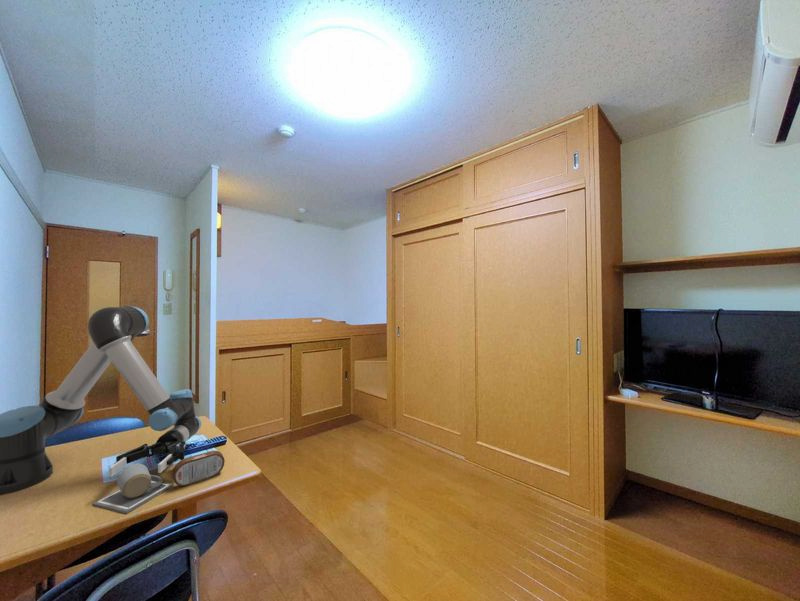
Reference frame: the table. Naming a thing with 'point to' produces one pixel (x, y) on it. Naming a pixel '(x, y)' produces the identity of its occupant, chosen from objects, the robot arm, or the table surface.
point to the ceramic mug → (136, 480)
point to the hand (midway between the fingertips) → (135, 470)
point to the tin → (198, 468)
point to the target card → (130, 499)
